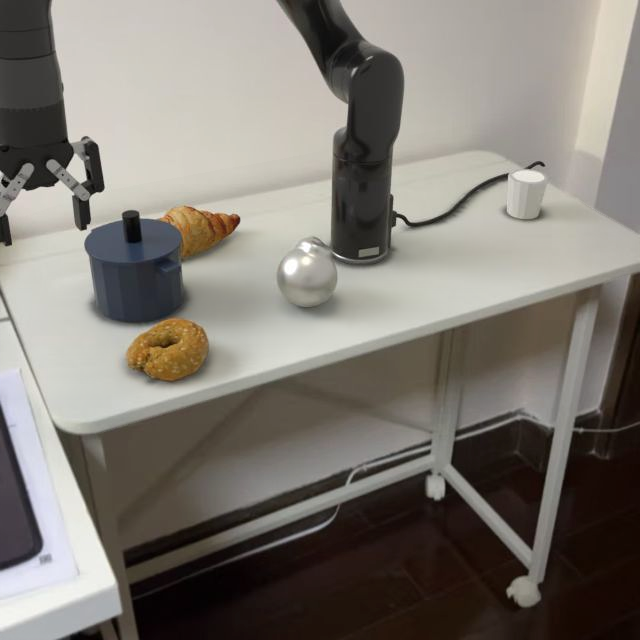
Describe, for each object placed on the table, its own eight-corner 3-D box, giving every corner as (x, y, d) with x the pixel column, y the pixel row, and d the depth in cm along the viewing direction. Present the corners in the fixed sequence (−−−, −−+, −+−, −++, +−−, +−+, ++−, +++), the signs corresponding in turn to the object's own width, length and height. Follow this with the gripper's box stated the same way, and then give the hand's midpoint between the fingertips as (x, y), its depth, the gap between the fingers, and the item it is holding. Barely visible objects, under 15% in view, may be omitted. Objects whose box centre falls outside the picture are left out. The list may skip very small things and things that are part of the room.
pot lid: (143, 216, 131) (140, 185, 129) (202, 246, 124) (200, 213, 121) (66, 246, 123) (60, 213, 120) (123, 280, 115) (119, 245, 113)
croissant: (130, 288, 137) (134, 259, 131) (105, 239, 141) (108, 208, 135) (248, 252, 147) (256, 223, 140) (221, 208, 151) (229, 178, 144)
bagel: (131, 341, 119) (127, 312, 116) (212, 340, 119) (210, 310, 117) (121, 385, 110) (117, 354, 108) (208, 383, 111) (206, 352, 108)
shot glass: (547, 210, 156) (554, 173, 152) (534, 224, 151) (540, 187, 147) (511, 201, 159) (517, 165, 155) (497, 214, 154) (502, 177, 150)
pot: (138, 264, 137) (132, 209, 132) (213, 306, 127) (209, 248, 122) (69, 293, 129) (59, 236, 124) (142, 340, 119) (135, 280, 114)
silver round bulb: (352, 304, 128) (354, 243, 123) (301, 325, 123) (301, 263, 117) (314, 279, 134) (314, 221, 128) (264, 299, 129) (262, 238, 123)
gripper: (80, 77, 96) (93, 211, 105) (-55, 93, 89) (-29, 235, 98) (104, 96, 91) (116, 236, 99) (-37, 114, 84) (-11, 262, 93)
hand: (44, 235), depth 99 cm, fingers open, 8 cm apart
